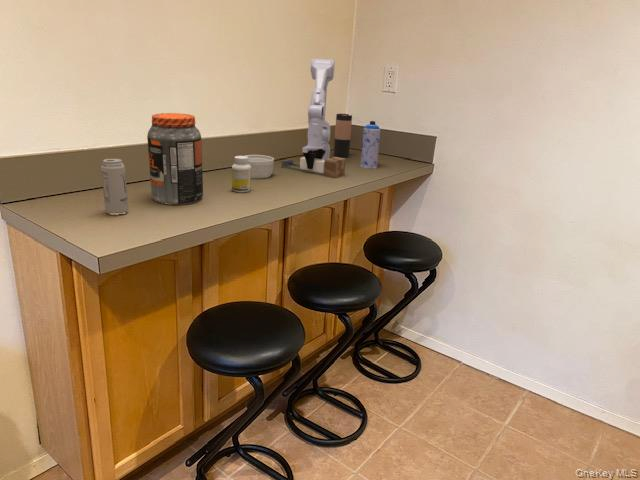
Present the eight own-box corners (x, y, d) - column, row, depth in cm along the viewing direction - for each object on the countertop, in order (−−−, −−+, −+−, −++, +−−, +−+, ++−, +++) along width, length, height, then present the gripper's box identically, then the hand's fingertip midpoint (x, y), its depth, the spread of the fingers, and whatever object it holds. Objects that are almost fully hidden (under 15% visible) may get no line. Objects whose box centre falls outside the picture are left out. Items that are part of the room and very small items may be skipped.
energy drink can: (127, 215, 135) (123, 162, 130) (104, 216, 133) (99, 162, 128) (129, 209, 140) (125, 158, 135) (106, 210, 139) (101, 158, 133)
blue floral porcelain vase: (361, 164, 222) (365, 119, 215) (378, 165, 220) (383, 121, 213) (358, 167, 215) (362, 121, 208) (375, 169, 213) (380, 122, 206)
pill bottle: (243, 187, 171) (243, 154, 167) (254, 191, 167) (255, 157, 163) (228, 189, 167) (227, 156, 163) (239, 193, 163) (239, 159, 159)
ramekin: (251, 181, 180) (252, 162, 178) (233, 174, 190) (232, 156, 187) (280, 177, 189) (280, 159, 186) (261, 170, 198) (261, 153, 195)
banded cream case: (306, 168, 206) (306, 156, 204) (333, 173, 199) (334, 161, 197) (299, 169, 203) (300, 157, 201) (327, 175, 196) (328, 162, 194)
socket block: (334, 172, 201) (335, 156, 199) (344, 175, 199) (345, 158, 196) (323, 176, 195) (324, 159, 192) (334, 178, 192) (335, 161, 190)
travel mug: (332, 157, 233) (335, 114, 226) (334, 154, 241) (337, 113, 234) (348, 158, 232) (351, 115, 225) (349, 155, 240) (353, 114, 233)
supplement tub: (149, 193, 157) (144, 111, 148) (199, 191, 163) (196, 112, 154) (153, 207, 143) (147, 118, 134) (207, 204, 149) (205, 118, 140)
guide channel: (291, 164, 212) (291, 158, 211) (333, 173, 201) (334, 167, 200) (281, 167, 206) (281, 161, 205) (324, 175, 195) (324, 169, 194)
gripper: (313, 137, 189) (311, 172, 194) (333, 134, 200) (330, 167, 205) (298, 135, 192) (297, 169, 197) (318, 132, 204) (317, 164, 209)
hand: (313, 167), depth 201 cm, fingers closed on banded cream case, 4 cm apart
